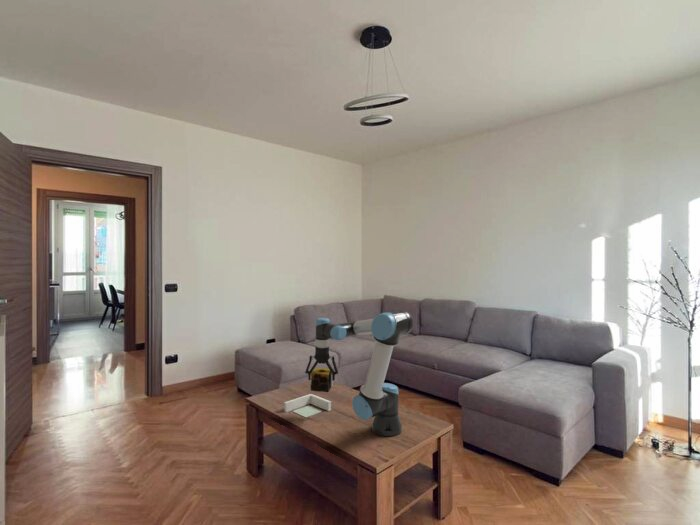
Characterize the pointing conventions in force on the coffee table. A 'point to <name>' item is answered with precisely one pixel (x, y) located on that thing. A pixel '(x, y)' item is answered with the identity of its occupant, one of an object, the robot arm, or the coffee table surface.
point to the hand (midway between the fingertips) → (321, 385)
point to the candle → (321, 380)
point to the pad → (307, 411)
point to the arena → (307, 402)
